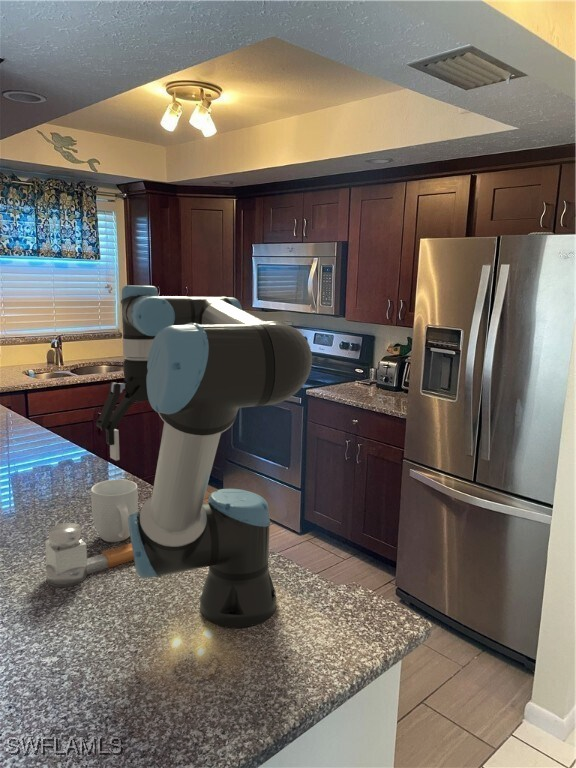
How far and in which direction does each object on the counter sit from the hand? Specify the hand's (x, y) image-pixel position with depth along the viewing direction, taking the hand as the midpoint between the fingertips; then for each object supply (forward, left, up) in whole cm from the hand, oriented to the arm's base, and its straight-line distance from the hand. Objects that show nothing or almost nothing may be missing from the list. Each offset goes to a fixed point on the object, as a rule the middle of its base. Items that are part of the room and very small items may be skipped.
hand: (143, 453), depth 124 cm
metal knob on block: (+3, +17, -23) cm, 28 cm away
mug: (+14, +1, -26) cm, 29 cm away
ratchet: (+3, +10, -26) cm, 28 cm away
